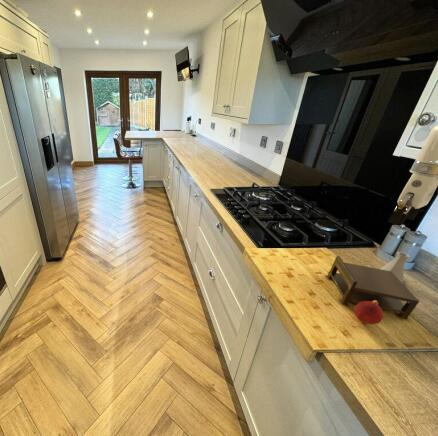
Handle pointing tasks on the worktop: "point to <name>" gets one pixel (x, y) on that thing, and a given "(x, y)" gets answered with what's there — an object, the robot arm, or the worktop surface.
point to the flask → (397, 265)
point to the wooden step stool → (372, 287)
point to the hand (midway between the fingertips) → (400, 221)
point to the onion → (369, 312)
